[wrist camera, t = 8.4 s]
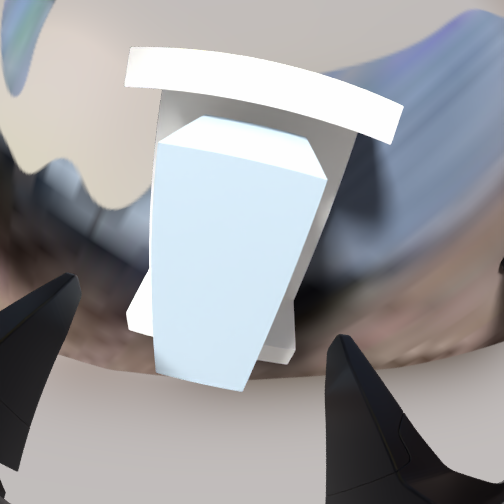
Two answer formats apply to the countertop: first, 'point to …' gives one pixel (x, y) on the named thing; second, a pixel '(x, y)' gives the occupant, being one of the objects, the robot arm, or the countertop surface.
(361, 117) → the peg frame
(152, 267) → the pale blue block
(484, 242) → the countertop surface
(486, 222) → the countertop surface
